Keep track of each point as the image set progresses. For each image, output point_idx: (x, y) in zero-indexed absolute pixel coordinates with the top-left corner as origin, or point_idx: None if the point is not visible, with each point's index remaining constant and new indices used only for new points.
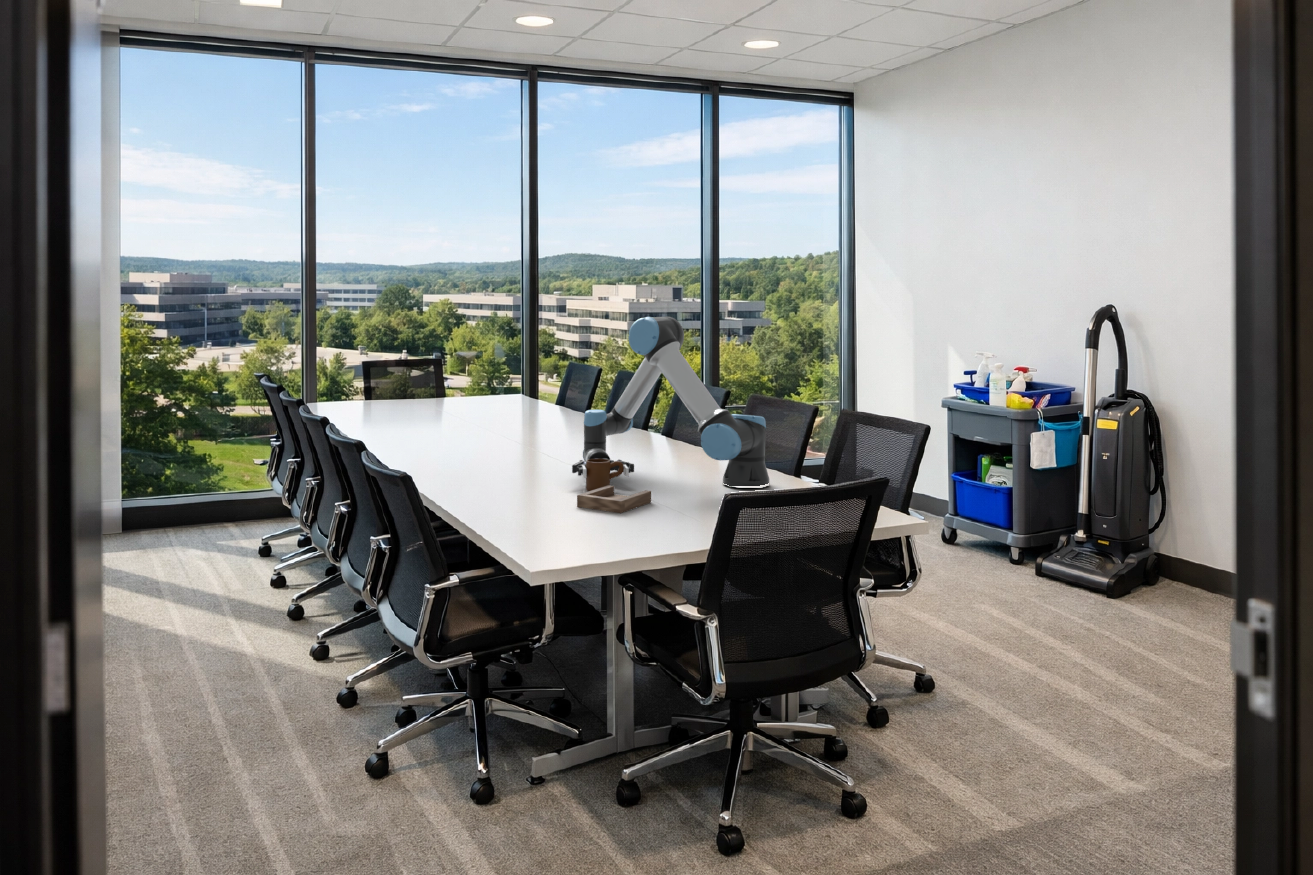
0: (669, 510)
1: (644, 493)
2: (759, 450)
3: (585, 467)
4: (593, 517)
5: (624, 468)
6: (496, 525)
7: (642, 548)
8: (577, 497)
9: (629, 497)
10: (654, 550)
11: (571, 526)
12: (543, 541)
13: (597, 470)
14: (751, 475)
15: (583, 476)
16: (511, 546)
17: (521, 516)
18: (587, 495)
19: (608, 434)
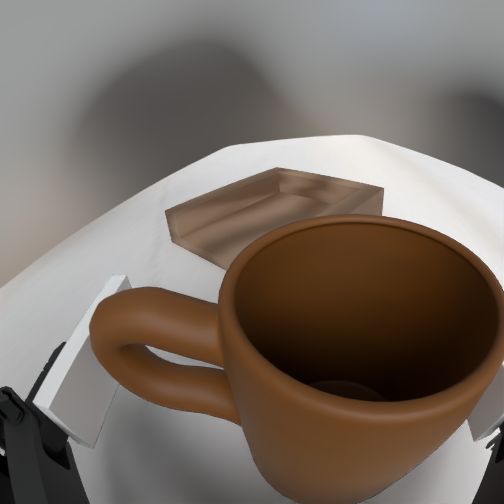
0: (172, 205)
1: (196, 197)
2: None
3: (500, 485)
4: None
5: (92, 359)
6: (455, 174)
7: (276, 144)
8: (382, 194)
9: (250, 178)
10: (266, 143)
11: (359, 165)
12: (376, 150)
13: (357, 270)
14: None
15: None
16: (400, 148)
17: (452, 190)
18: (356, 185)
19: None
